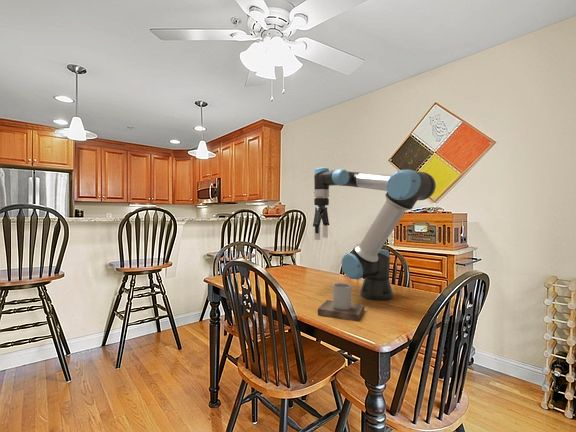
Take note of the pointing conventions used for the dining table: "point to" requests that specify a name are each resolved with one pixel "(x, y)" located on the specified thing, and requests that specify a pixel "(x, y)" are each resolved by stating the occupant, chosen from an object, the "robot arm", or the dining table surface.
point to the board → (341, 311)
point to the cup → (342, 296)
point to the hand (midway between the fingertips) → (321, 238)
